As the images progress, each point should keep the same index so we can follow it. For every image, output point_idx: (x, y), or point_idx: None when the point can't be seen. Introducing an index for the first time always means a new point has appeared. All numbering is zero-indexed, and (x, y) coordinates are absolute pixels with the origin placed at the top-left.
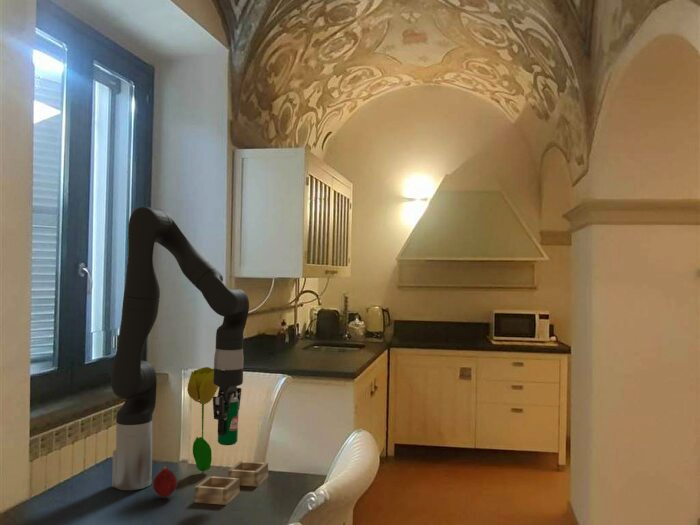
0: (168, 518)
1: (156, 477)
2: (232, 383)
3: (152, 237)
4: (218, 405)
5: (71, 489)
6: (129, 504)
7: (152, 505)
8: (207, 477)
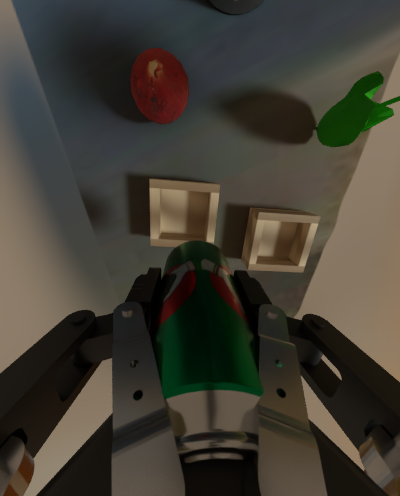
0: (72, 159)
1: (139, 56)
2: None
3: None
4: (14, 426)
5: None
6: (110, 22)
7: (120, 91)
8: (211, 184)
